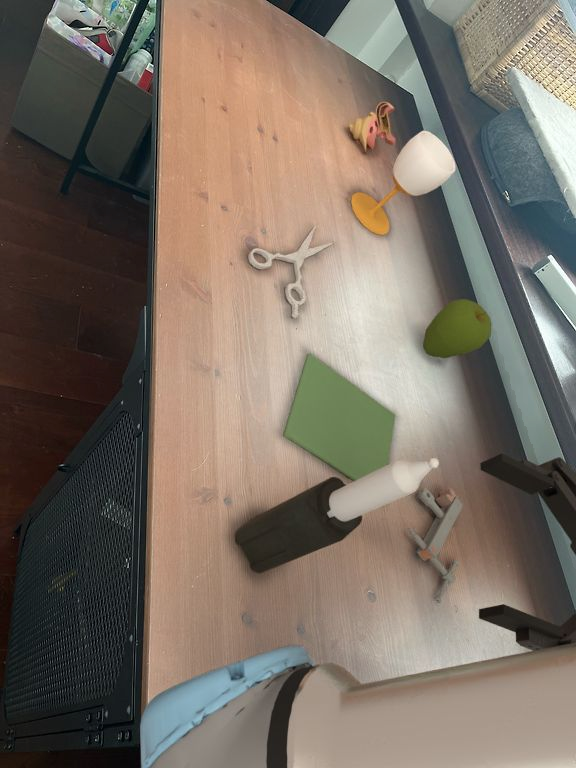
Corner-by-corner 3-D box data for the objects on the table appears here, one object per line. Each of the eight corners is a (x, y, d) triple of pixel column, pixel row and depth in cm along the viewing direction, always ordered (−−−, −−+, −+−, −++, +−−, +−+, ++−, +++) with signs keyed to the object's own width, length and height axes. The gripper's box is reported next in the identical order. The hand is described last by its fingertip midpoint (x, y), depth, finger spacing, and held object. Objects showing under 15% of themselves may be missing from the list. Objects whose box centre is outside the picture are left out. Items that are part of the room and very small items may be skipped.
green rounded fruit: (441, 334, 106) (496, 299, 98) (450, 377, 102) (509, 343, 94) (405, 319, 101) (460, 281, 93) (414, 363, 97) (471, 327, 89)
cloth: (380, 498, 79) (383, 497, 79) (283, 435, 74) (285, 434, 74) (393, 415, 88) (395, 414, 88) (307, 354, 83) (309, 352, 83)
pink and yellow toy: (344, 149, 116) (354, 94, 113) (345, 153, 125) (355, 103, 123) (393, 157, 115) (404, 102, 112) (390, 161, 125) (400, 110, 122)
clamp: (438, 470, 85) (482, 526, 86) (426, 476, 87) (470, 530, 87) (395, 540, 74) (447, 604, 75) (383, 545, 76) (433, 607, 76)
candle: (230, 534, 64) (403, 445, 46) (262, 511, 67) (434, 421, 50) (256, 577, 63) (441, 504, 46) (287, 552, 67) (469, 475, 50)
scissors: (242, 258, 82) (304, 205, 97) (239, 262, 83) (301, 208, 97) (296, 316, 84) (350, 255, 98) (293, 319, 84) (346, 258, 99)
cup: (396, 230, 113) (464, 172, 102) (371, 239, 106) (442, 177, 95) (368, 190, 113) (433, 127, 102) (342, 196, 107) (408, 129, 96)
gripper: (638, 751, 56) (456, 690, 49) (608, 498, 70) (463, 424, 63) (723, 754, 50) (530, 685, 43) (672, 478, 64) (520, 394, 57)
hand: (490, 530), depth 53 cm, fingers open, 13 cm apart
